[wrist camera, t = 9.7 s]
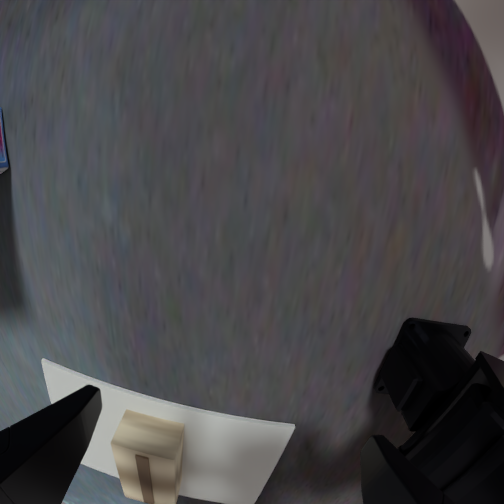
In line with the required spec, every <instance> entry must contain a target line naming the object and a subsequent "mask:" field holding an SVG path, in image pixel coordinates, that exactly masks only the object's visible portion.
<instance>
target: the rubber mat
mask: <svg viewBox="0 0 504 504" xmlns="http://www.w3.org/2000/svg"><path fill="white" fill-rule="evenodd" d="M41 362H42V367H43V371H44V376H45V380H46V384H47V389H48V393H49V396H50V400H51V404H53V403H55V402H57V401H58V400H60V399H62V398H64V397H66V396H68V395H69V394H71V393H73V392H75V391H77V390H79V389H80V388H82V387H84V386H86V385H89V384H90V385H93V386H95V387H98V388H99V389H100V391H101V398H102V411H101V413H100V416H99V419H98V422H97V424H96V427H95V430H94V433H93V436H92V438H91V441H90V444H89V447H88V449H87V451H86V453H85V455H84V457H83V459H82V461H81V464H83V465H86V466H88V467H91V468H93V469H96V470H98V471H101V472H104V473H106V474H109V475H112V476H115V477H118V478H119V474H118V471H117V467H116V463H115V459H114V455H113V451H112V447H111V441H112V438H113V436H114V434H115V432H116V430H117V428H118V426H119V423H120V421H121V419H122V417H123V415H124V413H125V411H126V409H127V410H131V411H134V412H138V413H142V414H145V415H149V416H153V417H157V418H161V419H165V420H170V421H174V422H178V423H183V424H184V437H183V459H182V481H181V485H180V490H179V494H178V495H182V496H186V497H191V498H196V499H201V500H207V501H212V502H218V503H225V504H254V503H255V502H256V500H257V498H258V497H259V495H260V493H261V491H262V490H263V488H264V486H265V484H266V483H267V481H268V479H269V477H270V475H271V474H272V472H273V470H274V468H275V466H276V464H277V462H278V460H279V459H280V457H281V455H282V453H283V451H284V449H285V447H286V445H287V443H288V441H289V439H290V437H291V435H292V433H293V431H294V429H295V424H289V423H281V422H273V421H265V420H258V419H252V418H246V417H240V416H234V415H228V414H223V413H218V412H213V411H208V410H203V409H199V408H194V407H190V406H186V405H181V404H177V403H173V402H169V401H166V400H162V399H158V398H154V397H151V396H147V395H144V394H140V393H137V392H134V391H131V390H127V389H124V388H121V387H118V386H115V385H112V384H109V383H106V382H103V381H100V380H97V379H95V378H92V377H89V376H86V375H84V374H81V373H79V372H76V371H73V370H71V369H68V368H66V367H63V366H61V365H59V364H56V363H54V362H52V361H49V360H47V359H45V358H43V359H42V360H41Z"/></svg>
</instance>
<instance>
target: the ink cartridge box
mask: <svg viewBox="0 0 504 504" xmlns="http://www.w3.org/2000/svg"><path fill="white" fill-rule="evenodd" d="M8 167H9V164H8V160H7V154H6V147H5V139H4V130H3V120H2V109H1V107H0V174H1V173H3V172H4V171H5V170H7V169H8Z"/></svg>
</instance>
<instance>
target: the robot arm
mask: <svg viewBox="0 0 504 504" xmlns="http://www.w3.org/2000/svg"><path fill="white" fill-rule="evenodd" d="M411 324H413V325H412V326H411V327H409V326H410V325H411ZM464 333H465V334H464ZM470 334H471V329H470V328H469V327H468V326H464V325H457V324H450V323H443V322H437V321H430V320H424V319H418V318H409V319H407V320H406V321H405V323H404V325H403V327H402V329H401V332H400V334H399V336H398V338H397V340H396V343H395V345H394V346H393V347H392V349H391V351H390V353H389V356H388V358H387V360H386V362H385V364H384V366H383V368H382V370H381V372H380V375H379V377H378V379H377V381H376V383H375V385H374V389H375V392H376V393H384V394H390V397H391V399H392V401H393V403H394V405H395V408H396V410H397V411H401V412H402V415H403V417H404V419H405V421H406V423H407V425H408V428H409V430H410V431H416V432H415V433H414V434H413V435H412V436H411V437H410V438H409V439H408V440H407V441H406V442H405V443H404V444H403V445H402V446H399V447H398V448H396V447H395V446H394V445H392V444H391V443H390V442H389V441H388V440H387V439H386V438H385V437H384V436H383V435H372V436H371V437H370V438H369V439H368V441H367V442H366V444H365V445H364V447H363V448H362V450H361V453H360V460H361V487H362V497H363V504H504V361H502V360H500V359H498V358H496V357H493V356H491V355H489V354H487V353H484V352H482V351H480V353H479V354H478V355H477V357H476V358H475V359H476V361H475V360H474V359H473V358H472V357H471V356H470V354H469V353H468V352H467V351H466V350H465V349H464V346H465V344H466V342H467V340H468V338H469V336H470ZM380 386H382V387H380ZM379 387H380V388H379ZM101 411H102V398H101V391H100V389H99V388H98V387H95V386H93V385H90V384H89V385H86V386H84V387H82V388H80V389H79V390H77V391H75V392H73V393H71V394H69V395H68V396H66V397H64V398H62V399H60V400H58V401H57V402H55V403H53V404H51V405H49V406H47V407H46V408H44V409H42V410H40V411H38V412H36V413H34V414H32V415H31V416H29V417H27V418H25V419H23V420H21V421H19V422H17V423H15V424H13V425H11V426H10V427H7V428H5V429H4V430H2V431H0V504H61V503H62V501H63V499H64V496H65V494H66V492H67V490H68V488H69V486H70V484H71V482H72V480H73V478H74V475H75V473H76V471H77V469H78V467H79V465H80V463H81V461H82V459H83V457H84V455H85V453H86V451H87V449H88V447H89V444H90V441H91V438H92V436H93V433H94V430H95V427H96V424H97V422H98V419H99V416H100V413H101Z"/></svg>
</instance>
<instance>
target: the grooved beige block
mask: <svg viewBox="0 0 504 504" xmlns="http://www.w3.org/2000/svg"><path fill="white" fill-rule="evenodd" d="M183 437H184V424H183V423H178V422H174V421H170V420H165V419H161V418H157V417H153V416H149V415H145V414H142V413H138V412H134V411H131V410H127V409H126V411H125V413H124V415H123V417H122V419H121V421H120V423H119V426H118V428H117V430H116V432H115V434H114V436H113V438H112V441H111V447H112V451H113V455H114V459H115V463H116V467H117V471H118V474H119V478H120V481H121V484H122V488H123V491H124V494H125V497H128V498H131V499H135V500H138V501H142V502H145V503H149V504H177V499H178V494H179V490H180V485H181V481H182V459H183Z"/></svg>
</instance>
